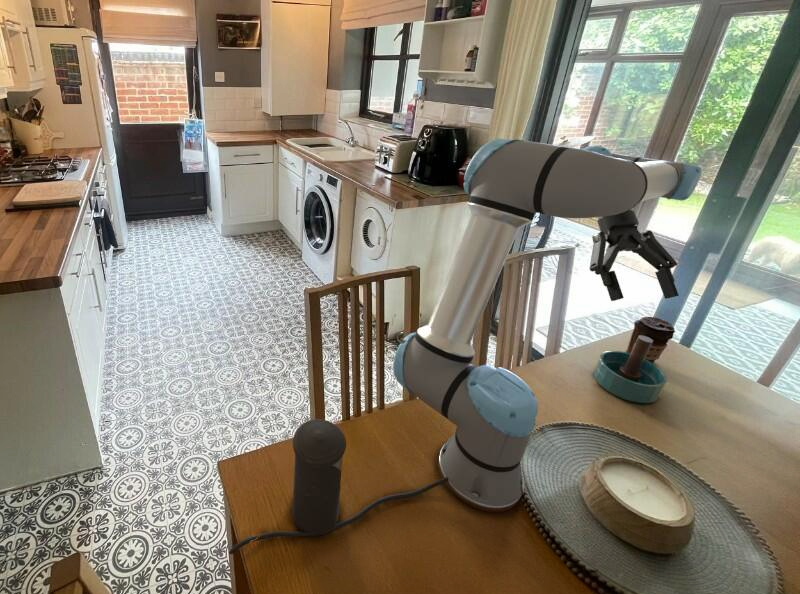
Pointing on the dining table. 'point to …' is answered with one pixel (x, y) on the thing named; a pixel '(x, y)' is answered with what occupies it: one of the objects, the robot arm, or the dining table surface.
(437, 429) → the dining table surface
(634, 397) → the bowl
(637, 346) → the pestle
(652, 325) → the coffee cup
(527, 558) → the dining table surface
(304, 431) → the container
